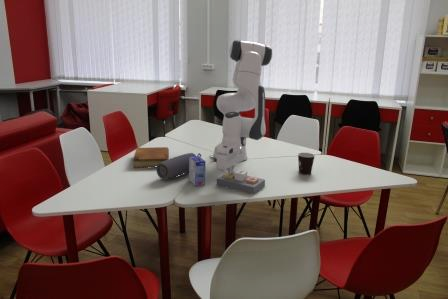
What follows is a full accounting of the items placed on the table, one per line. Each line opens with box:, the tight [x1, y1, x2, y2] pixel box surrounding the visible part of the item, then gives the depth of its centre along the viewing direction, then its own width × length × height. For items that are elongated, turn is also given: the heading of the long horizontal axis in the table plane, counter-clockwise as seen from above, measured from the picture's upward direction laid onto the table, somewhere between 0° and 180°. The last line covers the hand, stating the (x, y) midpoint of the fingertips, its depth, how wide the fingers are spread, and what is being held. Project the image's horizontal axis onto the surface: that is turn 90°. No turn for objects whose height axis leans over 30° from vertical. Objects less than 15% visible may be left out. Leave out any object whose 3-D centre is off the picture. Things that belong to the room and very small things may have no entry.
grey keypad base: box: [216, 174, 266, 195], centre depth 184 cm, size 20×12×4 cm, turn 59°
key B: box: [234, 169, 248, 182], centre depth 183 cm, size 4×4×5 cm
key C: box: [246, 176, 259, 184], centre depth 181 cm, size 4×4×5 cm
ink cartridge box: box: [188, 153, 206, 187], centre depth 185 cm, size 10×6×14 cm, turn 23°
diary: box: [132, 146, 170, 169], centre depth 217 cm, size 23×19×6 cm
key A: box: [223, 172, 235, 179], centre depth 186 cm, size 4×4×5 cm
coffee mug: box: [297, 152, 316, 176], centre depth 205 cm, size 12×9×10 cm
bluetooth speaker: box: [155, 152, 197, 180], centre depth 195 cm, size 23×9×10 cm, turn 145°
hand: (230, 173), depth 186 cm, fingers closed, pressing on key A
